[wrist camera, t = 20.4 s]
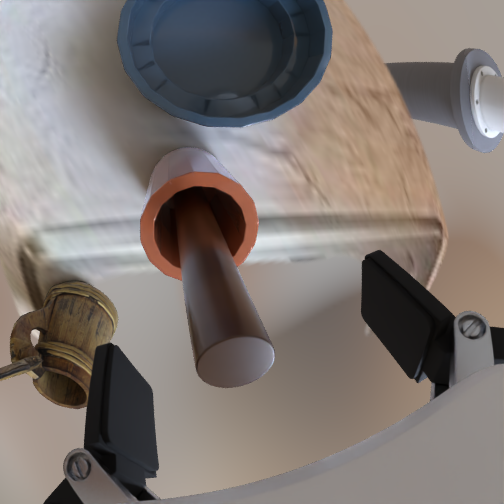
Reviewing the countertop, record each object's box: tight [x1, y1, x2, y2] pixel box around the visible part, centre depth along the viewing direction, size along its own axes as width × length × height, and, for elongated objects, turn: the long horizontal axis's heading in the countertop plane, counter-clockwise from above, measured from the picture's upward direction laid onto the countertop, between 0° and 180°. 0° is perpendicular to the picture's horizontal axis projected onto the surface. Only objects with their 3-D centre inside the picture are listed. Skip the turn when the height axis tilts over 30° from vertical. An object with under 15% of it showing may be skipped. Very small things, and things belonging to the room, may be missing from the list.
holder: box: [140, 147, 259, 281], centre depth 21 cm, size 7×7×11 cm
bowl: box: [117, 0, 333, 127], centre depth 17 cm, size 15×15×6 cm
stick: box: [174, 186, 275, 388], centre depth 17 cm, size 2×2×20 cm
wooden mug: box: [0, 281, 118, 409], centre depth 20 cm, size 9×14×18 cm, turn 20°
